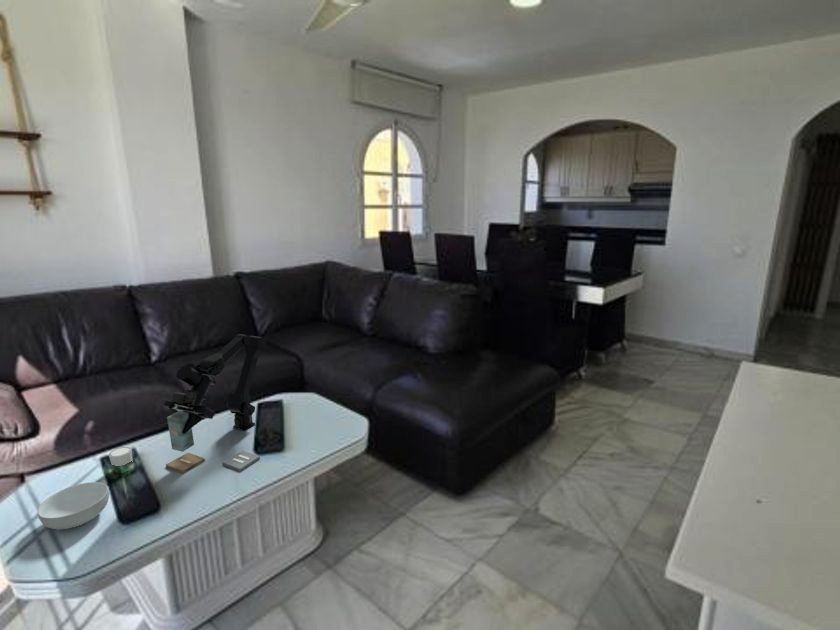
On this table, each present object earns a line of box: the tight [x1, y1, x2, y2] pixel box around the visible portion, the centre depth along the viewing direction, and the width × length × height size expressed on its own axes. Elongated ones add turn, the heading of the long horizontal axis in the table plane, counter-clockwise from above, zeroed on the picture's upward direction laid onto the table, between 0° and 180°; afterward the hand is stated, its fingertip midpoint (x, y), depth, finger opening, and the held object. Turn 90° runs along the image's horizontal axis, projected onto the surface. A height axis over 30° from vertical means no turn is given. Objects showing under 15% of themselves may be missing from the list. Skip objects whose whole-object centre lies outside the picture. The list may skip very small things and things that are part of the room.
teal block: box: [166, 411, 195, 453], centre depth 162 cm, size 5×5×12 cm
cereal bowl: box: [37, 481, 110, 530], centre depth 136 cm, size 17×17×7 cm
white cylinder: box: [108, 446, 133, 466], centre depth 162 cm, size 7×7×7 cm
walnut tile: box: [165, 452, 206, 474], centre depth 165 cm, size 9×9×1 cm
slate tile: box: [222, 450, 261, 472], centre depth 167 cm, size 9×9×1 cm
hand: (177, 432), depth 161 cm, fingers closed on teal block, 5 cm apart
